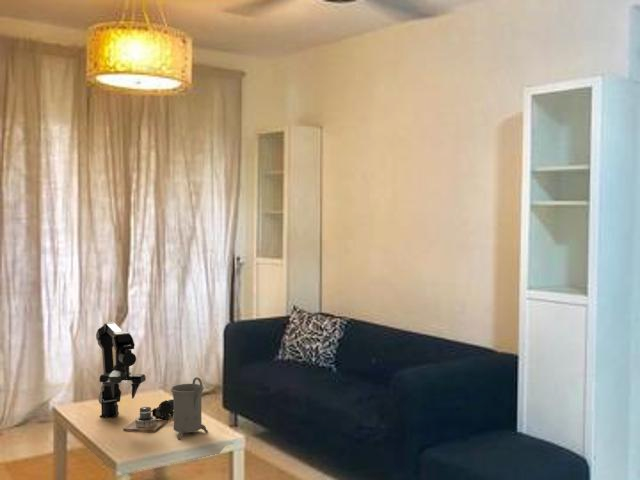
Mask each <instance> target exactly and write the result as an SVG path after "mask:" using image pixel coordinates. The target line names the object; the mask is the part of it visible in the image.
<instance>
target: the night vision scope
mask: <svg viewBox="0 0 640 480" xmlns="http://www.w3.org/2000/svg"><path fill="white" fill-rule="evenodd" d="M151 416H154V417H156V420H167V421H168V420H170V418H172V417H174V401H173V399H168V400H166V399H165V400H163V401H162V402H160V404H159V405H158V406H157V407H155V408H152V409H151Z"/></svg>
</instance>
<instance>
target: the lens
mask: <svg viewBox="0 0 640 480" xmlns="http://www.w3.org/2000/svg"><path fill="white" fill-rule="evenodd" d="M151 411H152V408H151V406H142V407H139V417H140V420H141V421H146V420H151V416H152V412H151Z"/></svg>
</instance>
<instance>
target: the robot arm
mask: <svg viewBox="0 0 640 480" xmlns="http://www.w3.org/2000/svg"><path fill="white" fill-rule="evenodd" d="M95 338H96V341H97V344H98V346H99V347H100V349H101V353H102V366H103V367H102V368H103V369H102V370H103V374H101V375H100V376H99V380H98V381H99V383H102V385H101V387H100V389H101V390H100V392H99V395H98V403H99V405H101V415H99V417H100V418H114V417H116V416H118V415H119V414H120V412H119V404H118V403H120V402H121V397H122V391H121V389H120V383H122V382H123V381H130V382H131V384H130V385H131V399H135V395H136V393H137V391H138V390H139V387H140V385H141V384H142V383H144V382H145V381H146V377H147V376H146V375H145V374H144V373H136V374H134V375H132V373H131V372H130V367H131V366H134V365H135V363H136V361H137V357H136V356H137V355H135V354H134V353H133V352H132V350H135V341H134V338H133V337H132V335H131V333H130V332H129V331H127V330H126V331H123V330H122V329H121V328H120V326H118V325H117V322H113V321H112V322H105V323H104V324H103V326H100V327H99V328H98V329H97V331H96V334H95ZM113 348H114V351H115V353H114V354H115V359H114V354H113ZM114 361H115V364H114Z"/></svg>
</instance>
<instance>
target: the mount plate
mask: <svg viewBox="0 0 640 480" xmlns="http://www.w3.org/2000/svg"><path fill="white" fill-rule="evenodd" d="M167 423H168V419H167V420H161V419H156V417H154V416H152V415H151V420H146V421H141V420H140V416H138V417H136V418H135V420H133V421H132V422H131V423H129V424H128V425H126V426H125V427H123V432H140V433H142V432H143V433H157V431H158V430H159V429H161V428H162V427H164V426H165V425H166V424H167Z"/></svg>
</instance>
